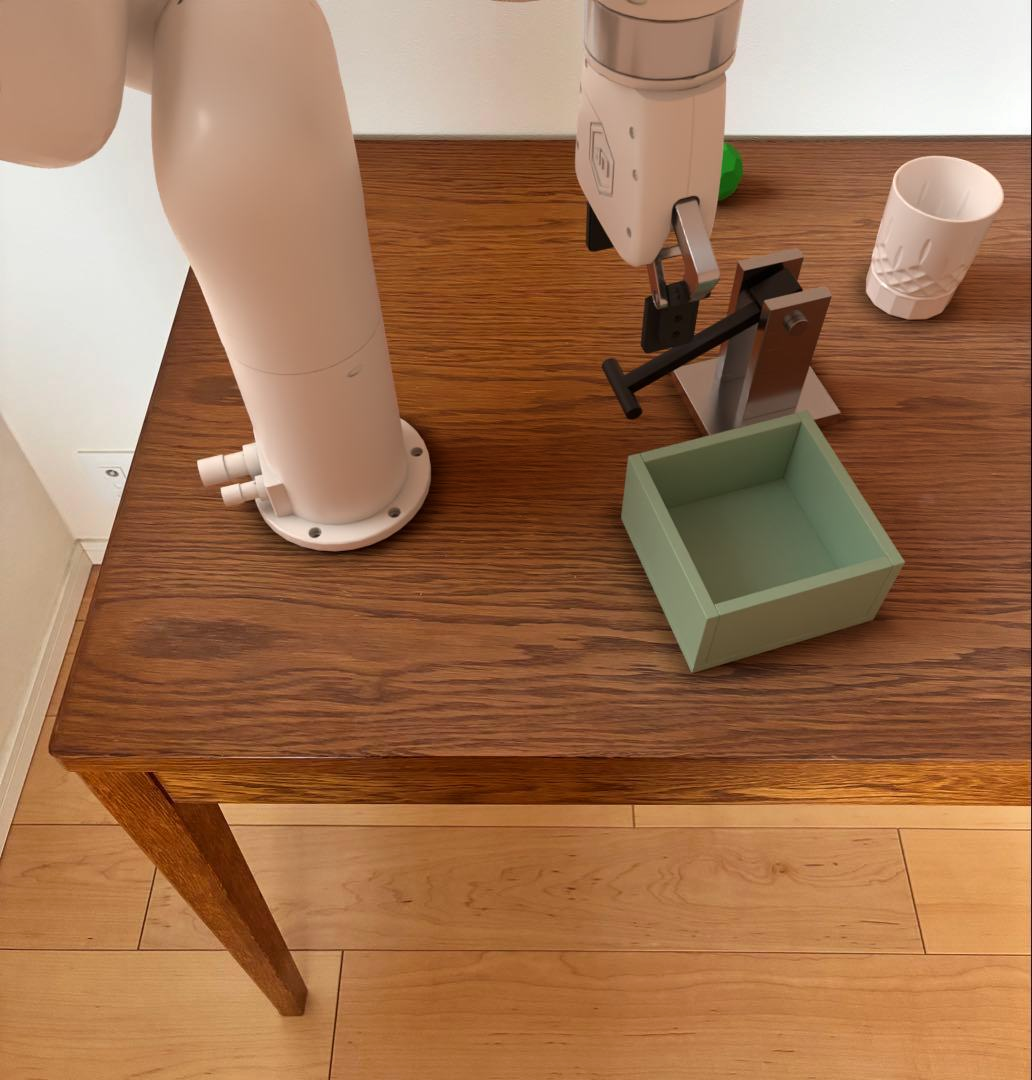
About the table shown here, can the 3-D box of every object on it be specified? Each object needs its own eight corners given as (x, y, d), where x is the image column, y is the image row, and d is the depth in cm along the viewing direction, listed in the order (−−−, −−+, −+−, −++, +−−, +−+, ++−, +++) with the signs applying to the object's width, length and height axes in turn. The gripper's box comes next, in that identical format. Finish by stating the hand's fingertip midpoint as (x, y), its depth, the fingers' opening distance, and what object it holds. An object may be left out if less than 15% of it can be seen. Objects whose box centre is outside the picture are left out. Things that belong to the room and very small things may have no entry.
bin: (691, 673, 61) (706, 619, 56) (620, 518, 68) (627, 455, 63) (873, 620, 63) (905, 562, 58) (786, 474, 70) (807, 409, 65)
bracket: (712, 455, 71) (739, 335, 62) (670, 379, 76) (689, 255, 66) (837, 423, 73) (883, 300, 63) (789, 350, 77) (825, 225, 68)
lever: (632, 427, 68) (620, 409, 66) (607, 377, 71) (595, 358, 69) (818, 323, 65) (812, 301, 63) (785, 275, 68) (777, 253, 66)
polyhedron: (678, 207, 87) (685, 160, 84) (686, 174, 90) (692, 127, 86) (735, 215, 87) (744, 167, 83) (741, 181, 89) (750, 133, 86)
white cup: (958, 331, 78) (1008, 227, 70) (856, 319, 79) (893, 214, 71) (954, 266, 82) (1000, 161, 74) (857, 255, 83) (892, 150, 75)
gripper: (533, -48, 52) (537, 222, 66) (655, 135, 42) (630, 405, 56) (666, -72, 53) (642, 199, 67) (814, 100, 43) (750, 374, 58)
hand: (636, 293), depth 62 cm, fingers open, 9 cm apart
